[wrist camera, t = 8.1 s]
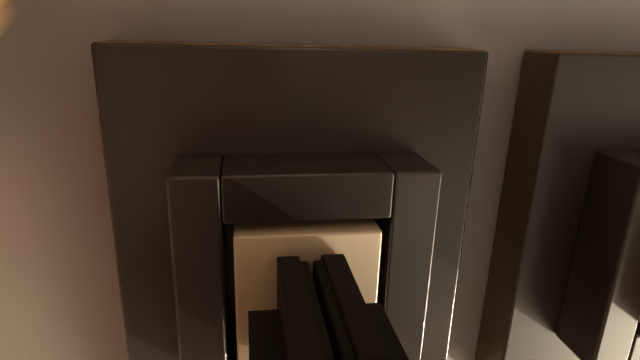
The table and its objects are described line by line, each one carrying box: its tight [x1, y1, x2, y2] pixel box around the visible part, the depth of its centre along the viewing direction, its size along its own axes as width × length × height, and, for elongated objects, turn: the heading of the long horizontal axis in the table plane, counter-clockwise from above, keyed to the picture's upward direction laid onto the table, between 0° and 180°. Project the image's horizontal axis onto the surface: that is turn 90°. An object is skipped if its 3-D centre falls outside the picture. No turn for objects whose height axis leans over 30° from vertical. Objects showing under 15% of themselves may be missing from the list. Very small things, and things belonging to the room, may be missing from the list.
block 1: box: [91, 40, 488, 360], centre depth 13 cm, size 12×10×4 cm
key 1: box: [233, 219, 382, 360], centre depth 13 cm, size 4×4×2 cm
